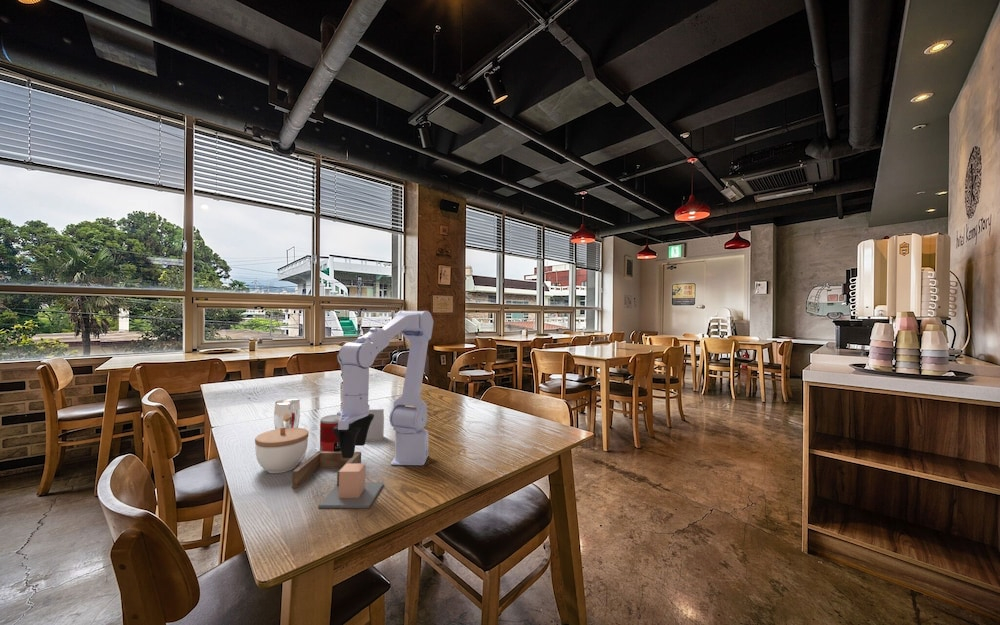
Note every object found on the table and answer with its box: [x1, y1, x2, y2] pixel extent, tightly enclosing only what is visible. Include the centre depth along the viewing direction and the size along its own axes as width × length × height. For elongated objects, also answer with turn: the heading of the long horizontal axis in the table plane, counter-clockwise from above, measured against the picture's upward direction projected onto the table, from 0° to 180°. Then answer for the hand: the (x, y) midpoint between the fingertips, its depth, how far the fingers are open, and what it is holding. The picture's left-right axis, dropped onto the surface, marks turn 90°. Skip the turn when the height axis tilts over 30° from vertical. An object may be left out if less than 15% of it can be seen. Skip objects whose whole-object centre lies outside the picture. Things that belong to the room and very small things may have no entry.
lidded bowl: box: [254, 427, 309, 474], centre depth 99 cm, size 13×13×11 cm
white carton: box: [273, 398, 301, 430], centre depth 112 cm, size 7×7×15 cm
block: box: [338, 463, 366, 498], centre depth 85 cm, size 4×4×6 cm
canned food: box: [319, 414, 341, 452], centre depth 110 cm, size 8×8×11 cm
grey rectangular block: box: [366, 408, 385, 442], centre depth 124 cm, size 4×7×10 cm, turn 101°
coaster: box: [317, 481, 385, 509], centre depth 85 cm, size 11×11×1 cm
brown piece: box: [291, 450, 362, 489], centre depth 95 cm, size 12×13×4 cm
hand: (354, 451), depth 85 cm, fingers open, 7 cm apart
